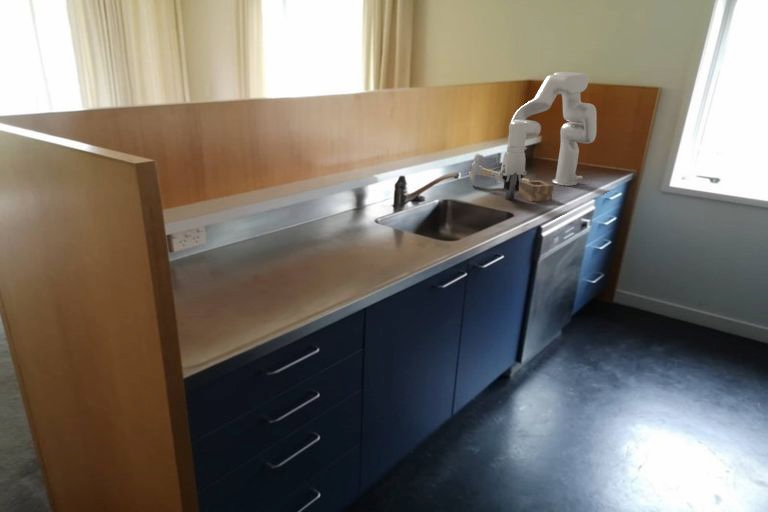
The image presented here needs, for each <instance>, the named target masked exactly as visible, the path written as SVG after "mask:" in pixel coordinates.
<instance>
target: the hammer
mask: <svg viewBox="0 0 768 512" xmlns="http://www.w3.org/2000/svg"><path fill="white" fill-rule="evenodd" d="M483 159H484V155H483V154H480V153H475V154H474V156H473V163H471V166H470V169H469V171H468V174H469V178H470V181H471V184H472V185H473V186H474V187H475V188H477V185H476V183H475V177H476V176H477V175H478V176H484V177H487V178H492V179H494V180H497V181H500V182H503V183H504V180H503V178H502V177H501V176H500V175H499V172H500V171H496V170H492V169H488V168H486V167H485V168H484V167H483V166H482V165H480V164H481V163H482V162H483ZM503 175H505V173H503ZM521 181H530V179H529V178H524V177H523V178H522V179H521ZM519 186H520V182H519Z"/></svg>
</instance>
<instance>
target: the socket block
mask: <svg viewBox="0 0 768 512" xmlns="http://www.w3.org/2000/svg"><path fill="white" fill-rule="evenodd" d="M553 193H554V185H553V184H550V183H549V182H546V181H544V180H540V179H539V180H538V179H537V180H529V181H520V186H519V187H518V196H519V197H520V198H523V199H525V200H528V201H530V202H543V201H545V202H546V201H552V200H553V199H552V198H553Z"/></svg>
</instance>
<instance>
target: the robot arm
mask: <svg viewBox="0 0 768 512" xmlns="http://www.w3.org/2000/svg"><path fill="white" fill-rule="evenodd" d="M588 85H589V76H588V75H587V74H586V73H583V72H572V71H557V72H554V73H553V74H549V75H547V76H546V77H545V79H544V80H543V82H542V83H541V85H540V87H539V89H538V91H537V92H536V94H535V96H534V98H532V99H531V100H529V101H528V102H527V103H525V104H524V105H521V106H520V107H519V109H517V110H516V112H515V113H514V114H513V116H512V118H511V120H510V123H509V125H508V131H509V132H508V139H507V148H506V149H507V150H506V152H504V155H503V157H502V163H501V167H500V171H498V172H499V175H500V176H501V177H502V178H503V180H504V182H503V189H504V190H505V191H506V190H509V178H510V175H513V174H514V173H515V172H516V173H517V175H518V176H517V184H516V191H517V190H518V191H519V182H520V181H521V179H522V178H524V177H525V176H526V175H528V173H527V170H526V153H525V150H527V149H528V147H527V146H525V145H526V139H527V138H531V139H533V138H537V137H538V136H539V135H540V133H541V130H542V126H541V124H540V123H539V122H537V121H536V120H530V119H527V118H529V117H531V116H533V115H536V114H539V113H543V112H545V111H548V110H549V109H550V108H551V107H552V104H553V103H554V102H555V99H556V97H558V95H561V97H562V98H561V99H562V116H563V119H564V120H565V121H567V122H565V123H563V125H562V126H560V146H559V147H560V148H559V152H558V153H559V154H558V160H557V167H556V174H555V178H554V179H552V181H551V182H552V183H553V184H555V185H558V186H564V185H565V186H568V187H570V186H573V185H574V186H576V185H577V184H578V182H577V181H580V180H583V176H582V175H577V174H576V173H577V172H576V171H577V166H578V160H579V153H580V149H579V145H578V143H579V144H580V143H581V144H586V145H587V144H591V143H594V142H595V140H596V137H597V118H598V117H597V109H596V106H595V105H594V104H592V103H588V102H582V101H581V99H582V98H581V93H582V92H584V91H585V90H586V89H587V88H588ZM503 173H504V174H505V175H503Z"/></svg>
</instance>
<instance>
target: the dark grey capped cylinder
mask: <svg viewBox="0 0 768 512" xmlns="http://www.w3.org/2000/svg"><path fill="white" fill-rule="evenodd" d="M517 176H518V175H517V173H516V172H515V173H514V174H513V175H510V178H509V190H506V189H505V196H504V199H505V200H506V201H515V199H516V191H517V190H516V184H517Z"/></svg>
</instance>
